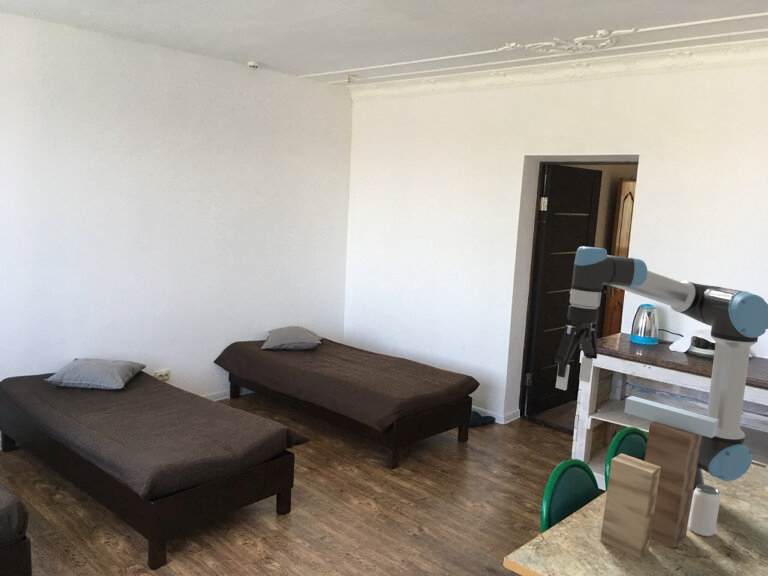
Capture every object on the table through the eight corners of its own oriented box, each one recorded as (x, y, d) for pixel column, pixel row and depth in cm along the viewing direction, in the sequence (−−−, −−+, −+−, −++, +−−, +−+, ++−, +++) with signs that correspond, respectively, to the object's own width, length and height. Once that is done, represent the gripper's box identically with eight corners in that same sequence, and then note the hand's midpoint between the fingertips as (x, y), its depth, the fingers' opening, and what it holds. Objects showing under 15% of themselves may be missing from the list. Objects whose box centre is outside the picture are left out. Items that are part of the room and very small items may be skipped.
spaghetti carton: (624, 412, 168) (626, 398, 168) (630, 409, 171) (632, 395, 171) (711, 438, 154) (714, 422, 153) (716, 434, 156) (718, 419, 156)
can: (717, 539, 165) (724, 496, 163) (691, 534, 166) (698, 492, 164) (710, 527, 171) (716, 486, 169) (685, 522, 172) (691, 482, 171)
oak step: (610, 532, 163) (621, 453, 160) (648, 549, 156) (661, 466, 153) (600, 540, 159) (611, 459, 156) (639, 558, 152) (652, 473, 149)
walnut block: (648, 519, 172) (663, 416, 168) (686, 535, 165) (703, 427, 161) (634, 531, 165) (649, 423, 161) (673, 548, 158) (690, 435, 154)
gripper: (590, 301, 173) (580, 374, 176) (547, 306, 155) (536, 388, 158) (617, 306, 168) (606, 381, 171) (575, 311, 150) (564, 396, 153)
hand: (572, 385), depth 165 cm, fingers open, 13 cm apart
